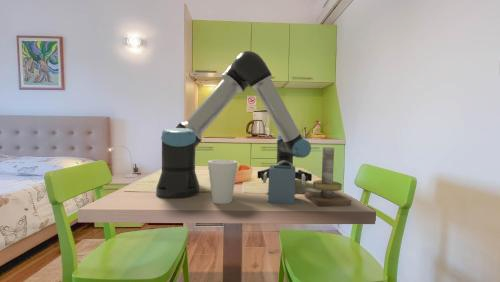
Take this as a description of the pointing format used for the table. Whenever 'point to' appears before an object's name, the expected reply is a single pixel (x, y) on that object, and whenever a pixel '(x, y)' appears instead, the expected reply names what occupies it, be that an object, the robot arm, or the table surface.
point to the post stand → (327, 184)
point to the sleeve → (281, 184)
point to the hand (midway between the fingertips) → (284, 180)
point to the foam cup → (222, 180)
